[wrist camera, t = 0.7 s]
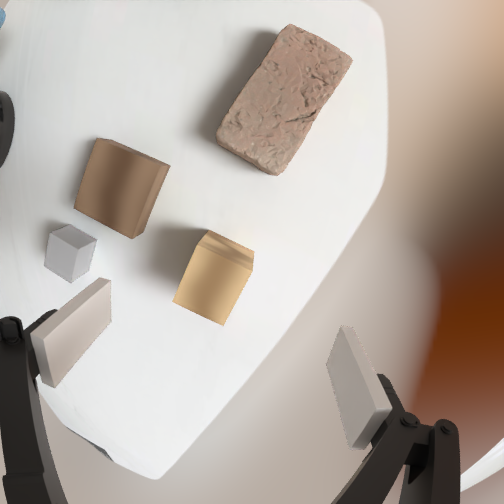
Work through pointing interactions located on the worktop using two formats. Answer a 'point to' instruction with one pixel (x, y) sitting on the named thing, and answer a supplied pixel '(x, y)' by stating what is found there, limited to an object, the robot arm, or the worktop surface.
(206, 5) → the worktop surface
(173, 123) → the worktop surface
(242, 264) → the oak block
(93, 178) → the walnut block
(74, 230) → the grey block
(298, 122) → the brick
